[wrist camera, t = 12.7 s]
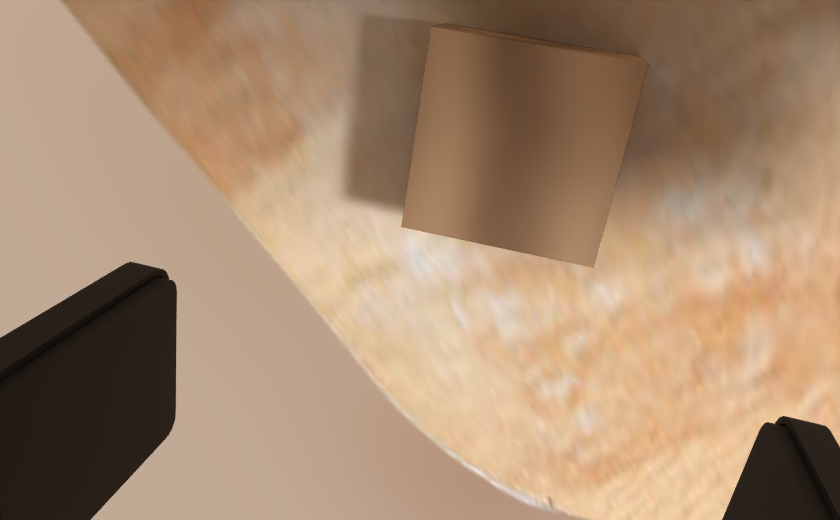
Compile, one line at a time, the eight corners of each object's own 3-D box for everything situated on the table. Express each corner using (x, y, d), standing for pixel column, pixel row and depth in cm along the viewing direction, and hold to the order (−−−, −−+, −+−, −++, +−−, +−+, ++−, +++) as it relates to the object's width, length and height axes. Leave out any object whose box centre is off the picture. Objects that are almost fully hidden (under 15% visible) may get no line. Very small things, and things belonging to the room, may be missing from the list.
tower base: (639, 56, 31) (648, 64, 27) (590, 239, 34) (593, 267, 31) (446, 23, 32) (430, 26, 28) (418, 203, 36) (401, 226, 32)
